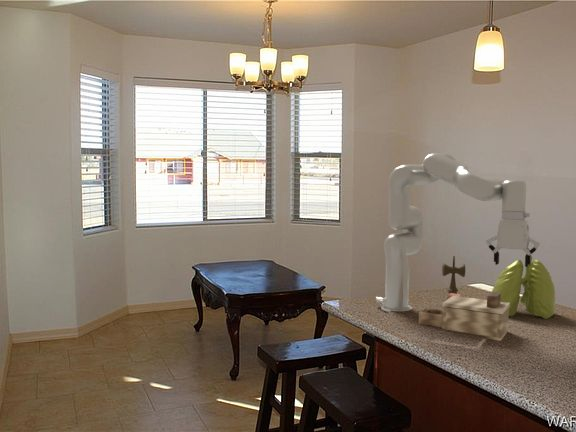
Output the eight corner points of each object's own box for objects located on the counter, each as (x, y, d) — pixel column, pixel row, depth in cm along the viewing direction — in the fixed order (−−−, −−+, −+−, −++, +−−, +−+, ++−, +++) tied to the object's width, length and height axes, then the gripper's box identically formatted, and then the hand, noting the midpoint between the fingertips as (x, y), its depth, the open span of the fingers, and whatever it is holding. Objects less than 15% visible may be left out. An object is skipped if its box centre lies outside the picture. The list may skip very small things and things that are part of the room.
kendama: (464, 302, 250) (466, 257, 248) (442, 301, 251) (443, 256, 250) (462, 299, 256) (464, 255, 254) (440, 298, 257) (441, 254, 255)
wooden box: (416, 327, 211) (417, 303, 210) (427, 319, 222) (428, 296, 222) (500, 340, 196) (501, 315, 195) (507, 331, 207) (508, 307, 206)
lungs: (549, 310, 239) (552, 252, 237) (558, 320, 224) (562, 258, 222) (486, 306, 244) (488, 250, 242) (491, 316, 229) (493, 256, 227)
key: (446, 320, 221) (447, 295, 220) (449, 318, 224) (450, 293, 223) (457, 322, 219) (458, 296, 218) (460, 319, 222) (460, 294, 221)
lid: (442, 306, 205) (442, 291, 205) (452, 298, 217) (453, 285, 216) (502, 314, 195) (502, 299, 194) (509, 306, 206) (510, 292, 206)
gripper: (541, 216, 197) (539, 265, 198) (488, 214, 205) (487, 261, 207) (539, 217, 191) (537, 269, 192) (485, 215, 199) (483, 264, 200)
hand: (511, 265), depth 199 cm, fingers open, 9 cm apart
